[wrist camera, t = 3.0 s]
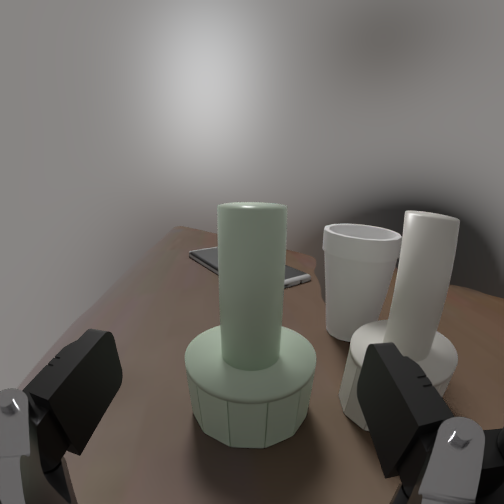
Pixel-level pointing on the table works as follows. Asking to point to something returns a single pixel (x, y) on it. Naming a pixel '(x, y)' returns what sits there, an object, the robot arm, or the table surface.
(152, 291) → the table surface
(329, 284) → the foam cup
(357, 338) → the white joystick
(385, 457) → the robot arm
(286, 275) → the smartphone
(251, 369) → the pale green pedestal post
